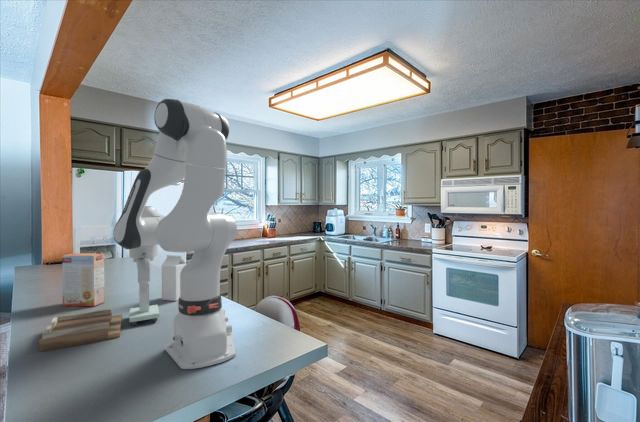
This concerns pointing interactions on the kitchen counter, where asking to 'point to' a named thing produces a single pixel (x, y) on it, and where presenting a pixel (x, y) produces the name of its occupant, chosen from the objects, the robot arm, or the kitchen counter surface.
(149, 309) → the mint green slab
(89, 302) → the cracker box
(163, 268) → the milk carton
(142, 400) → the kitchen counter surface
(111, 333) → the tray
